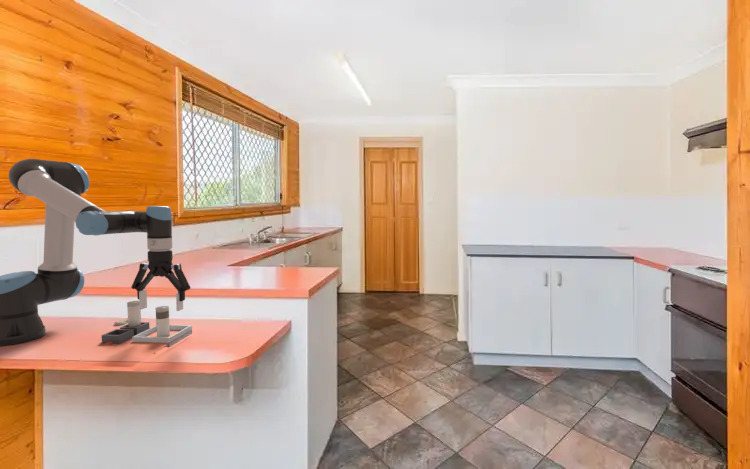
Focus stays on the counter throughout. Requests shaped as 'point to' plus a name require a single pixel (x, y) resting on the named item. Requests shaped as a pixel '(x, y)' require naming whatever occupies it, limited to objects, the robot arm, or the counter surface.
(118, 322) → the coral
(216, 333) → the counter surface
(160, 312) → the cylinder
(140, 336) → the grey square frame
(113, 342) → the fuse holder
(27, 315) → the robot arm
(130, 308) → the cylinder
